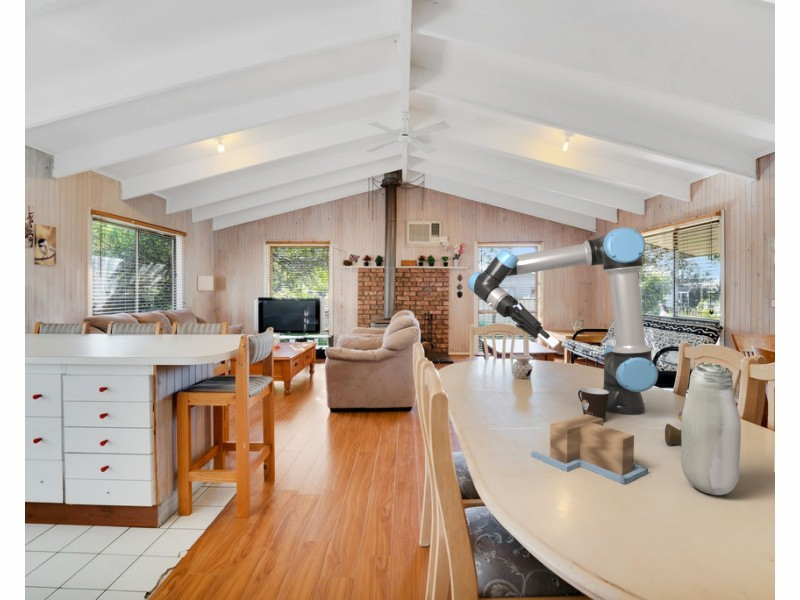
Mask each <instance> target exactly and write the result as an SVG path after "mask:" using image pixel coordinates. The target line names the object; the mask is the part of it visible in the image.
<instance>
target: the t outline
mask: <svg viewBox="0 0 800 600" xmlns="http://www.w3.org/2000/svg"><path fill="white" fill-rule="evenodd" d="M530 452H531V453H530V454H531V457H532V458H534V459H537V460H540V462H541V461H542V462H543V463H546V464H548V465H550V466H553V467H555V468H557V469H559V470H562V471H564V472H565V473H567V472H569V471H572V470H575V469H577V468H580V467H581V468H583V469H585V470H588V471H590V472H593V473H596V474H598V475H600V476H602V477H605V478H608V479H609V480H610V479H611V480H612V481H614V482H617V483H619V484H622V485H626V484H629V483H631V482H634V481H635V480H637V479H639V478H641V477H644V476H646V475H647V474H649V468H648V467H645V466H642V465H639V464H638V463H637V464H636V463H634V466H633V471H632V472H630V473H628V474H626V475H623V476H621V475H618V474H616V473H613V472H611V471H608V470H606V469H603V468H601V467H598V466H596V465H593V464H591V463H588V462H586V461H583V460H581V459H578V460H575V461H572V462H570V463H567V464H564V463H562V462H560V461H557V460H555V459H553V458H550V456H548V455H546V454H543V453H540V452H539V451H535V450H533V451H530Z"/></svg>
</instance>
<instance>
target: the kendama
mask: <svg viewBox="0 0 800 600" xmlns="http://www.w3.org/2000/svg"><path fill="white" fill-rule="evenodd" d="M664 440H665V441H664V442H665V444H666V445H667V446H671V445H675V444H680V443H681V444H682V438H681V429H679V428H676V427H675V426H674V425H672V424H671V423H670V424H669V423H666V424H665V427H664Z"/></svg>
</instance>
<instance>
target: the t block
mask: <svg viewBox="0 0 800 600" xmlns="http://www.w3.org/2000/svg"><path fill="white" fill-rule="evenodd" d="M549 428H550V430H549V431H550V432H549V434H550V436H549V437H550V439H549V441H550V442H549V457H550V458H553V459H555V460H557V461H560V462H562V463H564V464H567V463H570V462H572V461H575V460H578V459H581V460H583V461H586V462H588V463H591V464H593V465H596V466H598V467H601V468H603V469H606V470H608V471H611V472H613V473H616V474H618V475H621V476H623V475H626V474H628V473H630V472H632V471H634V470H633V466H634V464H635V461H634V458H635V451H634V450H635V435H633V434H631V433H628V432H624V431H621V430H617V429H614V428H610V427H608V426H604V423H603V419H602V418H599V417H595V416H592V415H588V414H585V415H583V414H582V415H579V416H575V417H572V418H568V419H565V420H564V419H563V420H561V421H557V422H554V423H551V424H550V427H549Z"/></svg>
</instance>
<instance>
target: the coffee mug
mask: <svg viewBox="0 0 800 600" xmlns="http://www.w3.org/2000/svg"><path fill="white" fill-rule="evenodd" d="M577 396H578V399H579V400H580V403H581V404H582V415H585V414H588V415H592V416H595V417H599V418H602V419H603V424H604V423H605V422H606V415H607V403H608V396H609V391H607V390H604V389H603V388H599V387H582V388H580V389H579V391H578V393H577Z"/></svg>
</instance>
